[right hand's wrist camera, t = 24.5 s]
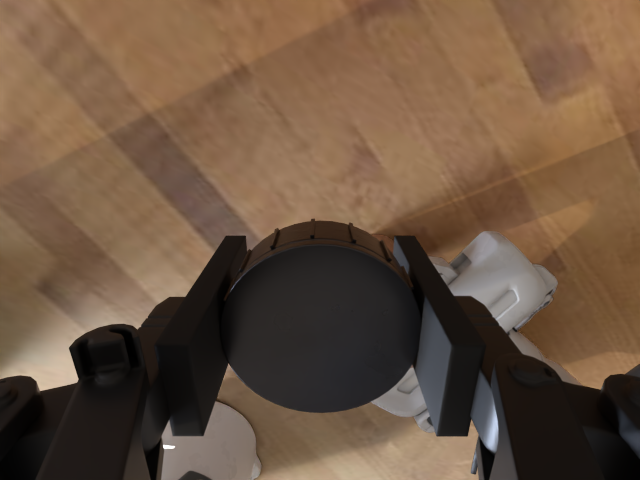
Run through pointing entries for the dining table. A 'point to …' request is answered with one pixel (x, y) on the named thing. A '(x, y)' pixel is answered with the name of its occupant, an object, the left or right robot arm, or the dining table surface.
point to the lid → (320, 318)
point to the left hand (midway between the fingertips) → (377, 279)
